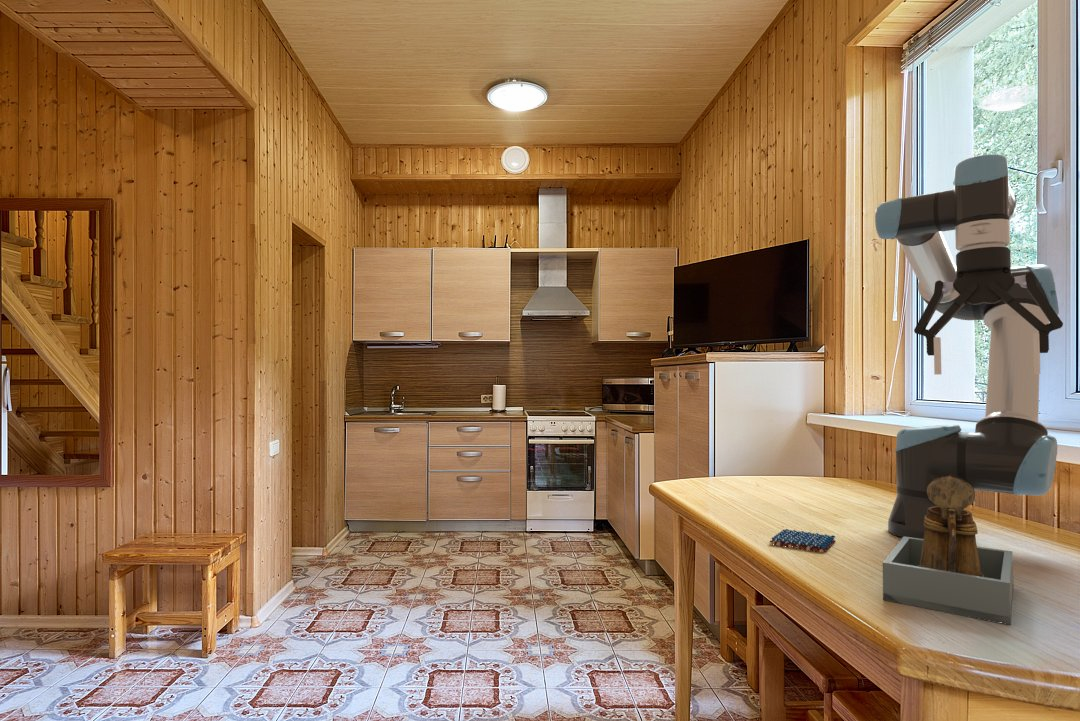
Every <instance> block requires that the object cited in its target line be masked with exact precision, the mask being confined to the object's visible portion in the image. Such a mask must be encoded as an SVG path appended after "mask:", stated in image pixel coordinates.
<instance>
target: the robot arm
mask: <svg viewBox="0 0 1080 721" xmlns="http://www.w3.org/2000/svg"><path fill="white" fill-rule="evenodd" d="M1009 175H1010V170H1009V164H1008V159H1007V157H1006V156H1005V155H1002V154H995V153H993V154H981V155H978V156H973V157H969V158H967V159H964V160H962V161H960V162H958V163H957V164H956V165H955V167H954V176H953V177H954V178H953V182H952V183H953V189H949V190H942V191H937V192H932V193H924V194H919V195H914V196H913V195H912V196H908V197H897V198H896V199H893V200H887V201H883V202H881V203H879V204H878V205H877V207H876V209H875V216H874V217H875V218H874V221H875V223H874V224H875V230H876V233H877V235H878V237H879V238H880V239H882V240H897V241H898V243H899V246H900V247H901V250H902V251H903V253H904V255H905V257H906V259H907V261H908V263H909V265H910V268H911V270H913V272H914V274H915V277H916V278H917V280H918V284H917V290H918V293H919V295H920V297H921V298H922V300H923V301H924V302H925V303H926V305H927V306H926V308H925V309H924V311H923V313H922V314H921V316H920V318H919V320H918V322H917V324H916V326H915V327H914V328H913V329H914V330H913V332H914V333H915V334H917V335H920V336H923V337H925V338H926V354H927V356H929V357H930V356H933V361H934V363H933V365H934V366H933V367H934V371H933V372H934V373H933V374H934V375H942V341H941V340H942V338H941V337H937V335H938V333H940V331H941V330H942V329H943V328H944V327H945V326H946V325H947V324H948V323H949V322H950V321H951V319H957V320H961V321H983V324H984V325H985V326H986V328H988V329H989V330H990V340H989V342H990V343H989V352H988V353H989V355H988V370H987V385H986V386H987V389H986V400H985V412H984V413H985V416H984V417H983V418H981V419H980V420H978V421H977V422H976V424H975V429H974V430H975V431H974V432H970V431H969V432H968V431H962V428H961V426H960V425H959V424H942V425H941V424H940V425H928V426H915V427H913V426H912V427H906V428H902V429H900V430H899V431H898V432H897V433H896V443H895V448H894V451H895V462H896V463H895V466H896V468H895V469H896V473H895V474H896V498H895V500H894V503H893V506H892V509H891V512H890V514H889V517H888V521H887V524H888V525H887V529H888V532H889V533H890V534H892V535H895V536H897V537H900V538H903V537H904V536H905V537H912V538H919V539H924V531H925V526H924V519H925V516H926V515H927V509H928V508H929V507H933V506H937V505H935V504H934V503H933V502H932V501H931V500H930V499H929V498H928V496H927V492H926V489H927V485H928V484H929V483H930V482H931V481H932V480H933V479H935V478H938V477H940V476H943V475H947V474H952V475H955V476H958V477H960V478H962V479H964V480H965V481H967V482H969V483H970V484H971V485H972V486H973V487H974V491H982V492H990V493H998V494H1007V495H1008V494H1009V495H1014V496H1037V497H1038V496H1044V495H1046V494H1047V493H1048V492H1049V491H1050V489H1051V487H1052V485H1053V482H1054V477H1055V473H1056V468H1057V467H1056V466H1057V456H1058V440H1057V438H1056V437H1055V436H1052V435H1048V434H1049V432H1048V429H1047V427H1046V426H1045V425H1044V424H1043V423H1042V422H1039V407H1040V406H1039V403H1040V402H1039V401H1040V400H1039V399H1040V389H1039V388H1040V374H1041V354H1048V353H1049V350H1050V342H1049V340H1050V339H1049V338H1050V337H1049V336H1050V333H1051V332H1054V331H1056V330H1059V329H1061V328H1062V327H1063V325H1064V322H1063V321H1062V320H1061V318H1060V317H1059V314H1060V310H1059V309H1060V308H1059V302H1058V296H1057V292H1056V283H1055V278H1054V274H1053V270H1052V268H1051V267H1050V266H1049V265H1047V264H1030V265H1029V264H1024V265H1022V266H1011V265H1012V264H1011V261H1012V258H1011V249H1010V248H1009V247H1007V246H1009V245H1010V243H1011V222H1010V220H1011V219H1012V218H1013V217H1014V216H1015V214H1016V211H1017V207H1018V206H1017V205H1018V203H1017V196H1016V193H1015V191H1014V190H1012V188H1011V185H1010V182H1009V181H1010V180H1009ZM947 231H948V232H949V231H954V233H955V250H957V251H958V252H957V254H956V255H955V262H954V258H953V255H952V254H951V251H950V249H949V247H948V245H947V242H946V240H945V237H944V235H943V232H947ZM936 311H937V312H938V313H940V314H942V315H941V316H940V317H939V318H938V319H936V321H935V322H934V323H933V325H931V326H930V328H929V329H927V328H928V326H929V324H930V321H931V320H932V317H933V316H934V314H935V313H936ZM963 510H966V508H965V509H963Z"/></svg>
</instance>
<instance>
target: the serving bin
mask: <svg viewBox="0 0 1080 721" xmlns="http://www.w3.org/2000/svg"><path fill="white" fill-rule="evenodd" d="M922 546H923V539H919V538H912V537H905V536H904V537H901V539H900V540H899V542H898V543H897V544H896V546H894V548H893V549H892V550H891V551H890V553H889V554H887V556H886V557H885V559H884V560H883V561H882V600H883V601H887V602H893V603H897V604H903V605H907V606H911V605H912V606H913V607H917V608H922V607H923V608H922V609H927V608H928V610H932V609H933V611H937V610H938V612H943V613H947V612H948V613H947V614H952V613H953V614H952V615H957V614H958V616H962V615H964V616H963V617H967V616H970V617H969V618H972V617H974V618H973V619H977V618H980V619H979V620H982V619H985V620H984V621H987V620H990V621H989V622H992V621H995V622H994V623H997V622H1002V623H1006V624H1005V625H1007V624H1010V625H1009V626H1011V624H1012V612H1011V611H1012V608H1013V596H1014V567H1013V566H1014V562H1013V559H1014V558H1013V551H1011V550H1007V549H1006V550H1005V549H999V548H998V549H997V548H991V547H989V548H988V547H985V546H984V547H982V546H977V550H978V556H979V562H980V568H981V573H982V574H983V575H984V577H980V576H974V575H967V574H961V573H955V572H949V571H943V570H937V569H931V568H924V567H918V566H919V565H920V559H921V552H922ZM912 606H911V607H912ZM1002 623H1001V624H1002Z"/></svg>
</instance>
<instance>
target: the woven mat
mask: <svg viewBox="0 0 1080 721" xmlns="http://www.w3.org/2000/svg"><path fill="white" fill-rule="evenodd" d="M835 539H836V536H835V535H830V534H819V533H818V532H816V533H815V532H813V533H812V532H810V531H808V532H807V531H804V530H798V531H797V530H795V529H793V530H792V529H788V528H785V529H781V530H780V532H777V533H776V534H775V535H774V536H772V537H771V540H769V543H771V545H773V544H775V546H776V547H782V548H784V547H785V546H787V545H788V546H787V547H789V548H788V549H792V546H795V547H794V548H799V547H801V548H799V549H800V550H801V549H804V551H807V550H808V551H807V552H811V551H812V553H816V552H817V550H818V551H819V553H820V554H824V553H826V552H828V550H829V548H831V547H832V546H833V544H835V543H837V542H836V540H835ZM830 545H831V546H830ZM806 547H807V548H806ZM785 548H786V547H785ZM810 550H811V551H810ZM815 551H816V552H815ZM824 551H825V552H824ZM823 552H824V553H823Z"/></svg>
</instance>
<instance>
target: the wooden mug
mask: <svg viewBox="0 0 1080 721" xmlns="http://www.w3.org/2000/svg"><path fill="white" fill-rule="evenodd" d="M926 492H927V496H928V498H929V499H930V500H931V501H932V502H933V503H934V504H935V505H937V506H933V507H929V508H928V509H927V515H926V516H925V519H924V526H925V531H924V539H923V546H922V552H921V559H920V565H919V566H918V567H924V568H931V569H937V570H943V571H949V572H955V573H961V574H967V575H974V576H980V577H984V575H983V574H982V573H981V568H980V562H979V556H978V550H977V547H978V545H977V538H976V535H977V534H979V532H978V528H977V522H976V521H974V518H973V513H972V511H969V510H967V509H966V508H968V507H969V506H971V505H973V503H974V501H975V497H976V490H974V487H973V486H972V485H971V484H970V483H969V482H967V481H965V480H964V479H962V478H960V477H958V476H955V475H952V474H947V475H943V476H940V477H938V478H935V479H933V480H932V481H931V482H930V483H929V484H928V485H927V489H926ZM963 509H965V510H963Z"/></svg>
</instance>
